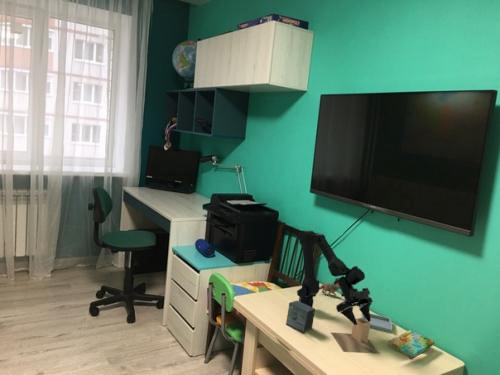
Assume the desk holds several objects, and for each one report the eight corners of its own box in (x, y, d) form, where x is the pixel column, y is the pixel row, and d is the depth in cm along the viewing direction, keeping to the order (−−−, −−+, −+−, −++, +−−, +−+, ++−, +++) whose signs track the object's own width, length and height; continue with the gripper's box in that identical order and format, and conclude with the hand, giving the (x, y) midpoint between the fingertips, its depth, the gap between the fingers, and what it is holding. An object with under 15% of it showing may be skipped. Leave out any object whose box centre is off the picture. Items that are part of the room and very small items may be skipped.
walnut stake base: (343, 353, 166) (345, 342, 166) (329, 334, 182) (331, 323, 181) (379, 355, 169) (381, 344, 168) (363, 336, 184) (365, 325, 184)
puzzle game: (388, 339, 175) (409, 328, 189) (386, 349, 176) (408, 338, 190) (415, 351, 167) (435, 339, 181) (413, 362, 168) (433, 349, 182)
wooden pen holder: (351, 336, 180) (354, 319, 179) (358, 334, 183) (361, 317, 182) (363, 343, 175) (366, 326, 174) (370, 341, 178) (373, 324, 177)
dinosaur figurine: (341, 295, 232) (343, 280, 230) (340, 299, 226) (343, 283, 225) (317, 290, 235) (319, 274, 234) (315, 293, 229) (318, 278, 228)
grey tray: (360, 327, 194) (361, 322, 193) (361, 316, 207) (362, 311, 207) (391, 335, 190) (392, 330, 189) (390, 323, 203) (390, 318, 203)
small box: (312, 330, 184) (316, 308, 182) (304, 334, 179) (307, 311, 177) (293, 321, 191) (297, 299, 189) (285, 324, 186) (288, 302, 184)
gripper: (345, 284, 175) (362, 319, 168) (372, 279, 186) (389, 312, 179) (329, 294, 182) (344, 329, 175) (356, 289, 193) (371, 322, 186)
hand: (363, 323), depth 178 cm, fingers open, 9 cm apart
